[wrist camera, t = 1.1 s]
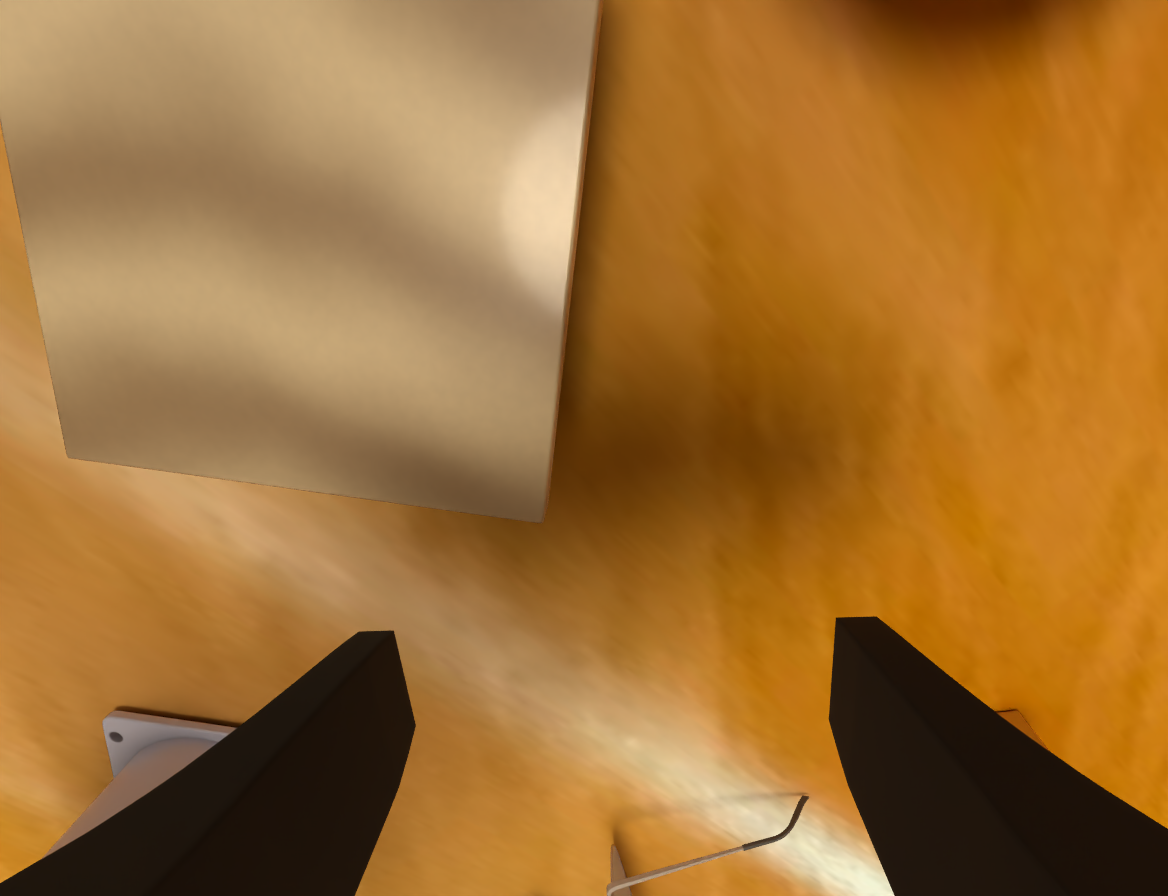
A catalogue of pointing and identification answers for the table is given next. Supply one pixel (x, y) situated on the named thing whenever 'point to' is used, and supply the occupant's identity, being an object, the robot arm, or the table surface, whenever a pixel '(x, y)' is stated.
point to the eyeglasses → (619, 885)
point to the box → (306, 235)
